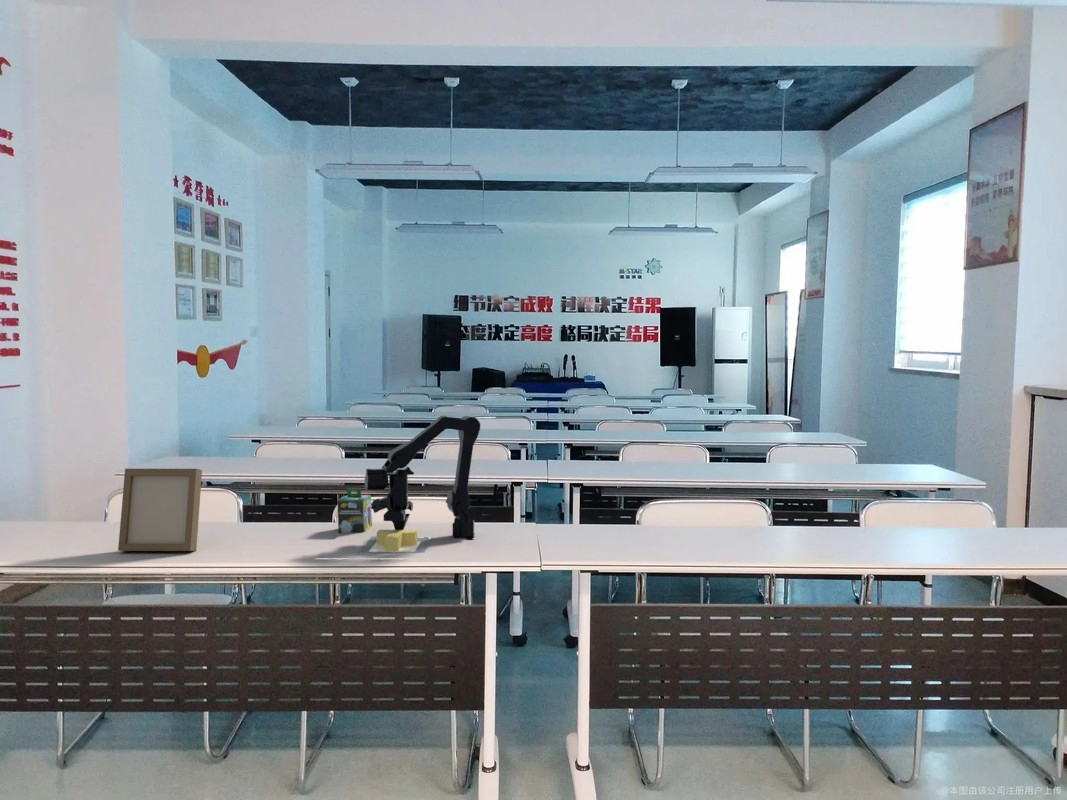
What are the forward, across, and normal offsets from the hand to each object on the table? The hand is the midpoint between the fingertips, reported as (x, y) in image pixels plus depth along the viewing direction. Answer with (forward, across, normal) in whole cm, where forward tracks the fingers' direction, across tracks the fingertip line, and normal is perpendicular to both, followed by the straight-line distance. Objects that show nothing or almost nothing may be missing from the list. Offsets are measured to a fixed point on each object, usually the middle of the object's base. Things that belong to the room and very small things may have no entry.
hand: (398, 537), depth 258 cm
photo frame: (+2, +8, -71) cm, 71 cm away
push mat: (+2, +4, 0) cm, 4 cm away
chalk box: (+2, -17, -18) cm, 25 cm away
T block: (+1, +7, 0) cm, 7 cm away
